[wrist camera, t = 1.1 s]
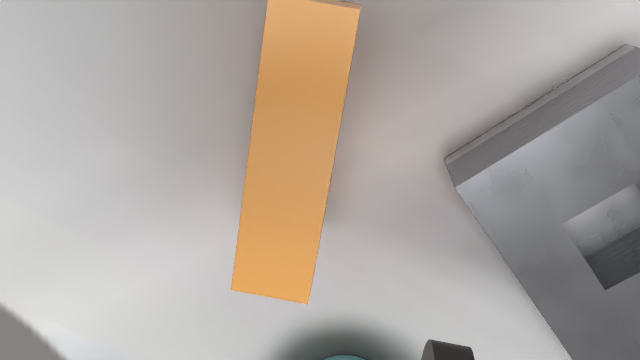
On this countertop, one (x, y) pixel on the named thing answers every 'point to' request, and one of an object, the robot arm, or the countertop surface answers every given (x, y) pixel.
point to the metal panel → (569, 204)
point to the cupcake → (344, 357)
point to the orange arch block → (293, 144)
